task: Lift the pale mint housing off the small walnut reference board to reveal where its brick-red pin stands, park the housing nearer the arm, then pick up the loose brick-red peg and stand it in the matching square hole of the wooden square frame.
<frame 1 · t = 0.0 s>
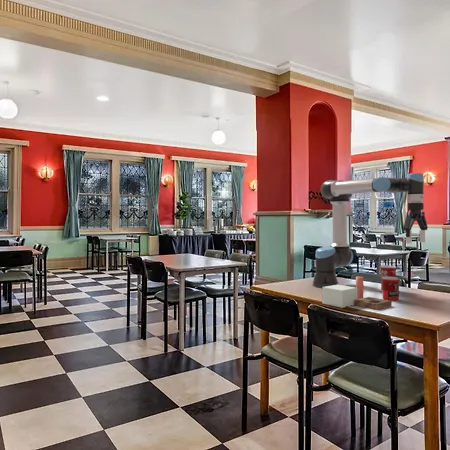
hand: (415, 242, 210), 28 cm above the table, fingers open, 13 cm apart
peg: (359, 301, 198), on the table
reference board: (339, 303, 192), on the table
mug: (389, 291, 225), on the table
housing: (339, 303, 192), on the table
canned food: (390, 299, 202), on the table
wooden square frame: (372, 305, 188), on the table
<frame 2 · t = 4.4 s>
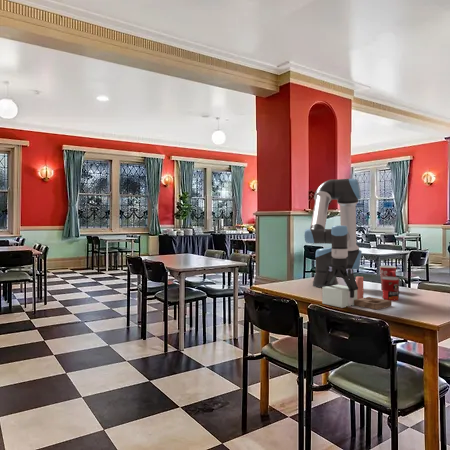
hand: (339, 302, 192), 1 cm above the table, fingers closed on housing, 12 cm apart
housing: (339, 303, 192), on the table, touching gripper
everything else where it was.
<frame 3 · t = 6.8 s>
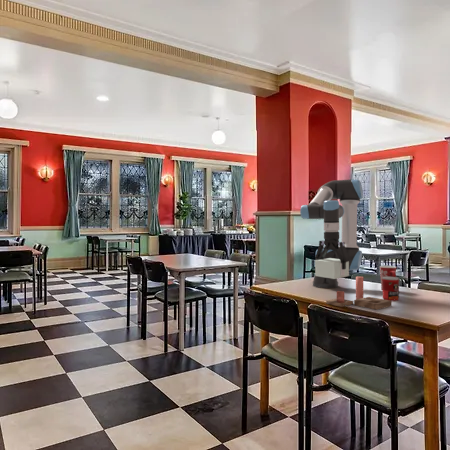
hand: (332, 274, 200), 13 cm above the table, fingers closed on housing, 12 cm apart
housing: (332, 275, 200), point 12 cm above the table, touching gripper
everything else where it was.
when the fingers open (3 cm above the table, at t = 9.5 s): housing drops 2 cm, on the table.
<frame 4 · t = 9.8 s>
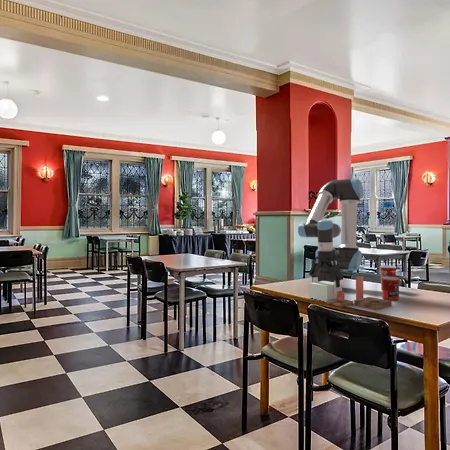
hand: (325, 291, 205), 4 cm above the table, fingers open, 13 cm apart
housing: (325, 298, 205), on the table
everything else where it was.
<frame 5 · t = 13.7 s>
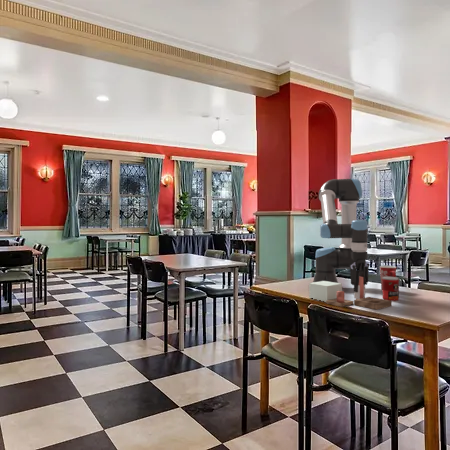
hand: (359, 297, 198), 2 cm above the table, fingers closed on peg, 3 cm apart
peg: (359, 301, 199), on the table, touching gripper
everything else where it was.
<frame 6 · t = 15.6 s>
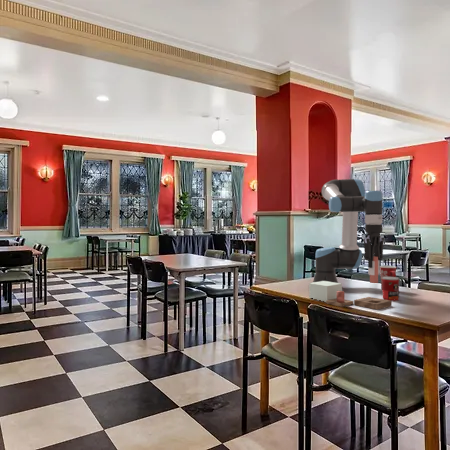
hand: (373, 274, 185), 15 cm above the table, fingers closed on peg, 3 cm apart
peg: (374, 282, 185), point 11 cm above the table, touching gripper
everything else where it was.
when the fingers open (4 cm above the table, at t = 17.9 s): peg stays where it is, on the table.
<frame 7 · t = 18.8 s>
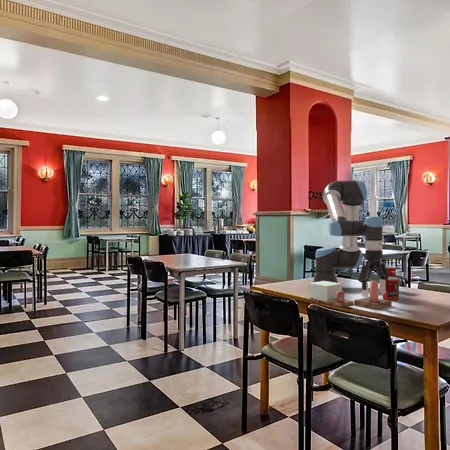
hand: (374, 295, 185), 6 cm above the table, fingers open, 13 cm apart
peg: (374, 307, 185), on the table
everything else where it was.
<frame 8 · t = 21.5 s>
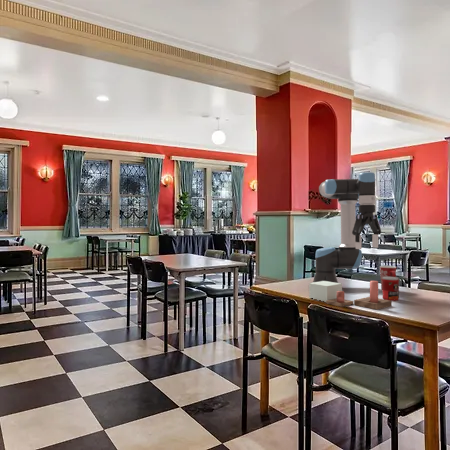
hand: (367, 248, 193), 27 cm above the table, fingers open, 13 cm apart
nothing on the table moved.
at the end: peg 0.1 cm from the target spot on the wooden square frame, point 0.0 cm above the wooden square frame's base; peg tilted 0°; housing moved 12.7 cm from its start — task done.
